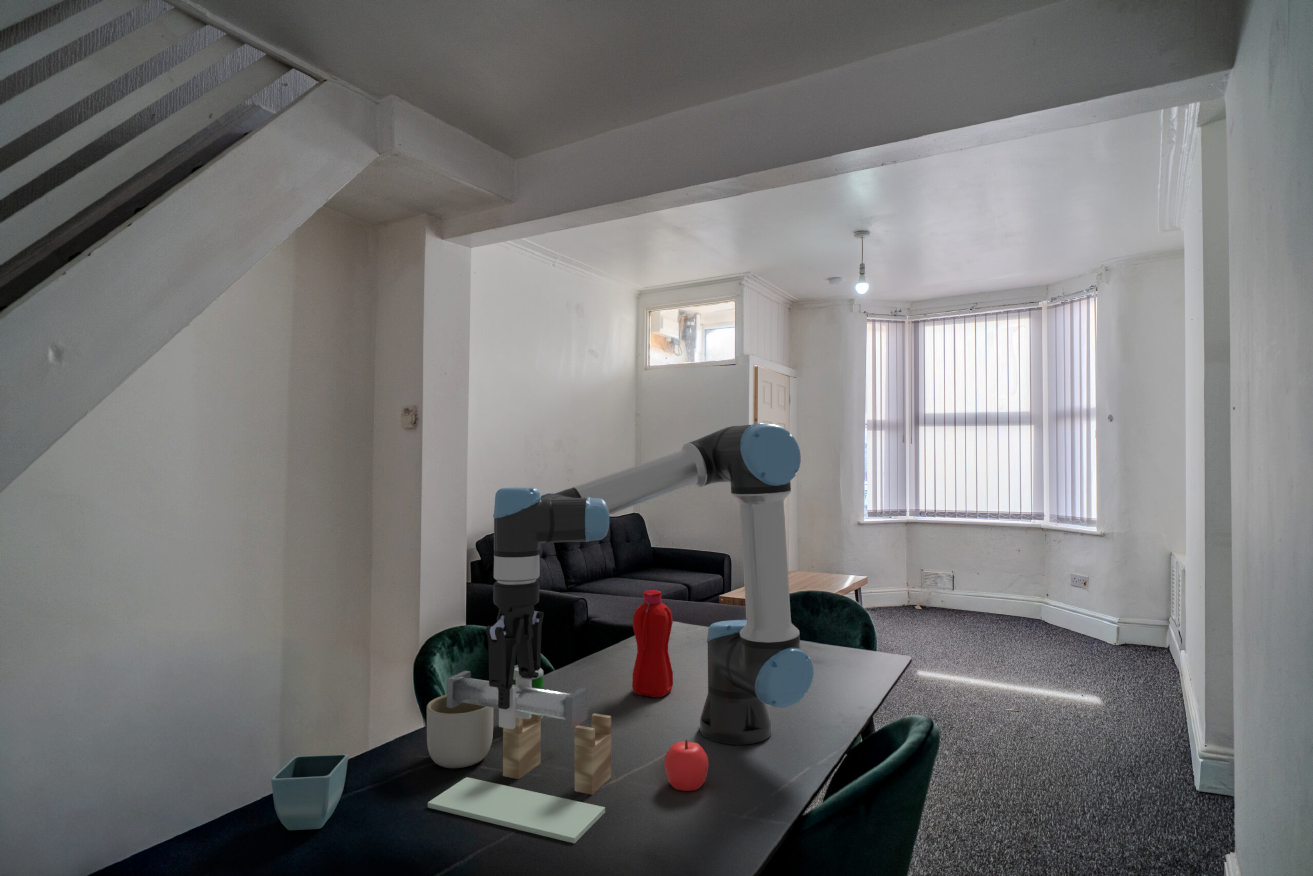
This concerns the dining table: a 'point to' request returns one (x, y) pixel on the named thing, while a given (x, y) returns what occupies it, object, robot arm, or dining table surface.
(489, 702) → the rail
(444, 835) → the dining table surface
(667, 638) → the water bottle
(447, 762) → the planter
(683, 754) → the apple
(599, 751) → the post near
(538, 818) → the board
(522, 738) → the post far
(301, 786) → the flower pot
